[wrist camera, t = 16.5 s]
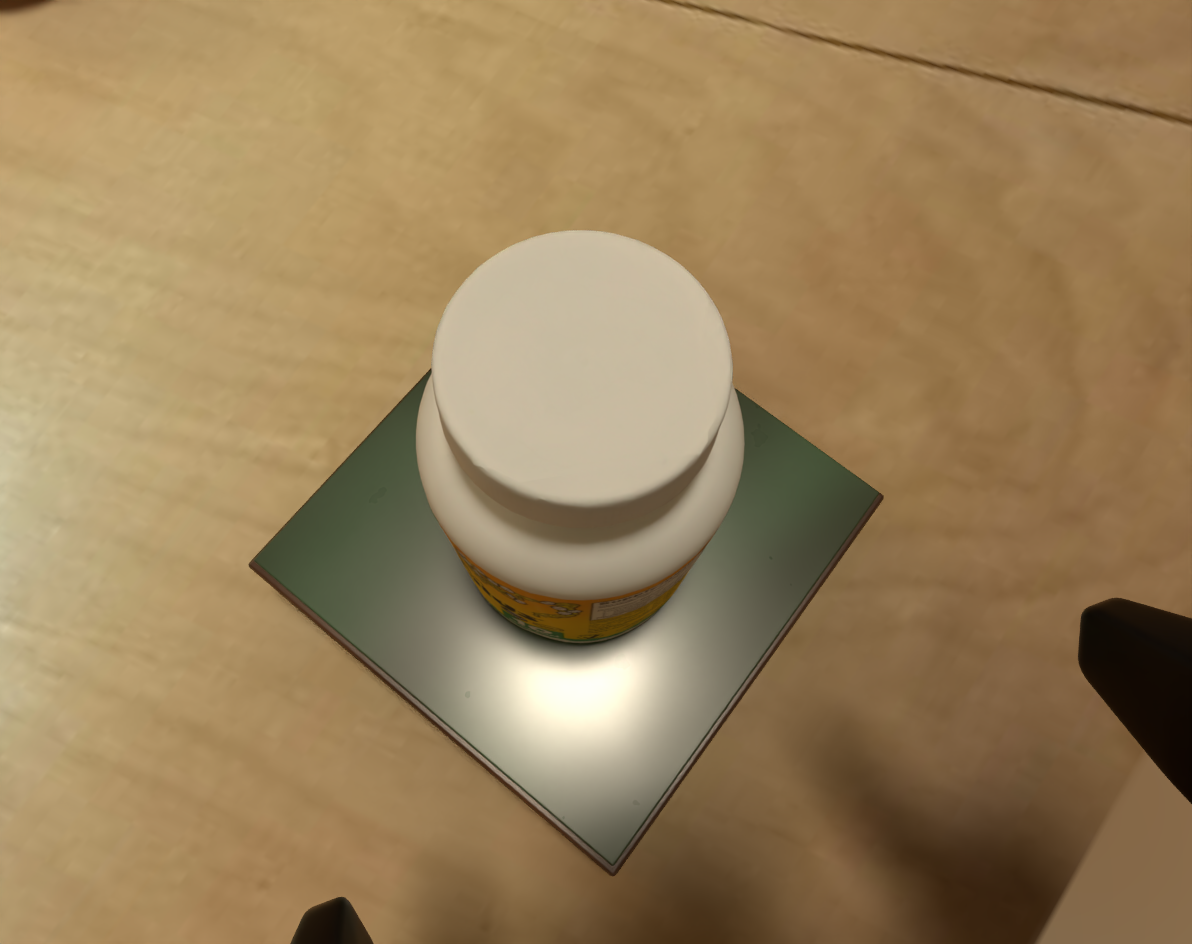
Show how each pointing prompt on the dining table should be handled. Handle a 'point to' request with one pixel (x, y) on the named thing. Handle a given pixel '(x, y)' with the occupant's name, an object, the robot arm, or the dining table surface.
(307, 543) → the stand
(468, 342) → the supplement bottle
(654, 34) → the dining table surface
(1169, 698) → the robot arm
